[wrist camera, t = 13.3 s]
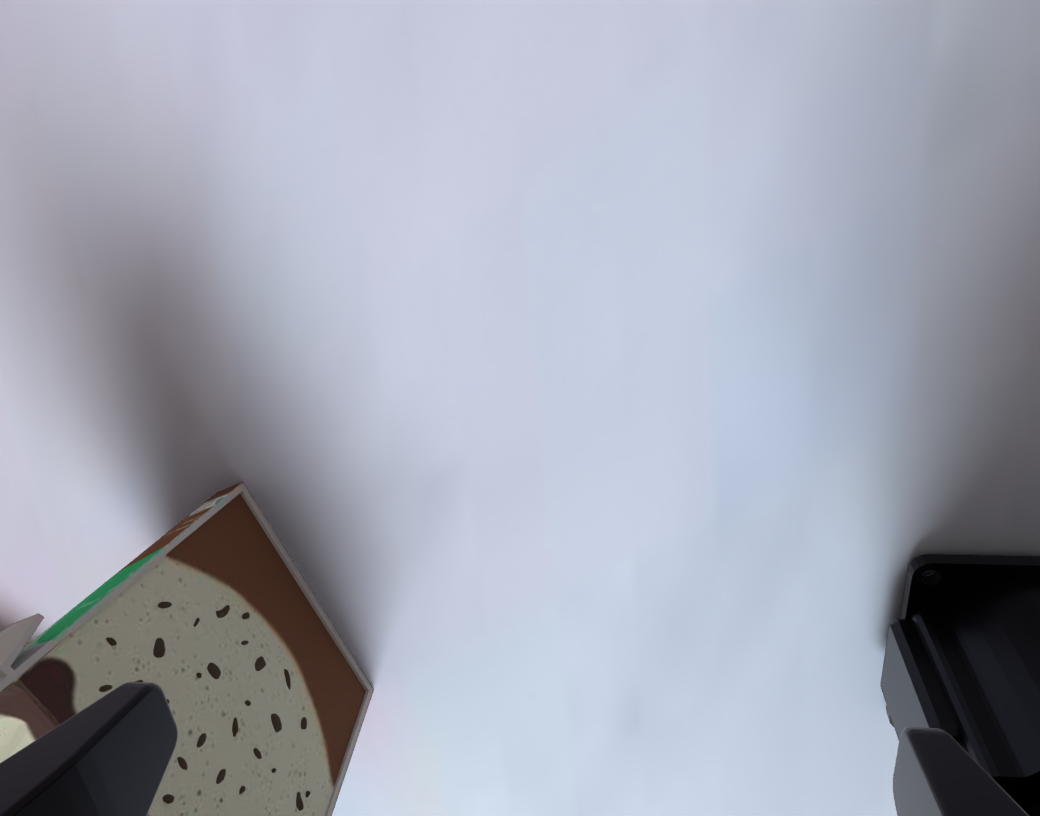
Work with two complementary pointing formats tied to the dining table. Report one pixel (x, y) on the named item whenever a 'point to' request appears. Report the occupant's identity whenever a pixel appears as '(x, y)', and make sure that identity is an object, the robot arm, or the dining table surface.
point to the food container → (205, 667)
